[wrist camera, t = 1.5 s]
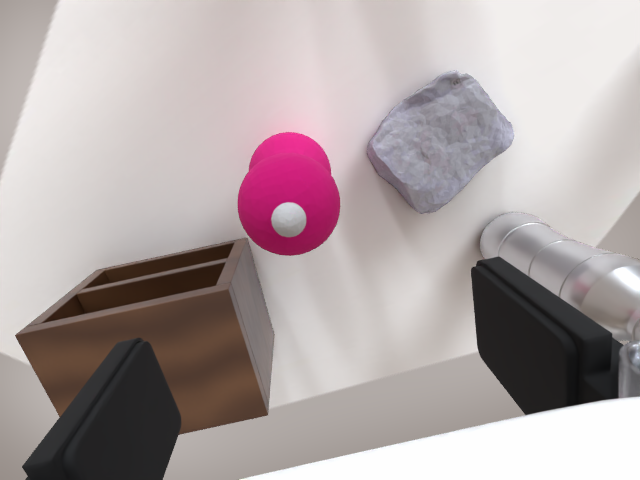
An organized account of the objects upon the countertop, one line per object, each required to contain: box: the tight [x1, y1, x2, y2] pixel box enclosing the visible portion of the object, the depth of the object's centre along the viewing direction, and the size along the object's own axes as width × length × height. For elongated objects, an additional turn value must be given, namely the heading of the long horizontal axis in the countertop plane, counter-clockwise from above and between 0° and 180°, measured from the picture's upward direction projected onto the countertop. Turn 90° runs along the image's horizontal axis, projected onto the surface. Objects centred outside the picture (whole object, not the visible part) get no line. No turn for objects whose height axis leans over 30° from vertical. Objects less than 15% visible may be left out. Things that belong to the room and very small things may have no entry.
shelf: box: [15, 238, 274, 435], centre depth 35 cm, size 12×16×12 cm
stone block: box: [367, 70, 514, 214], centre depth 36 cm, size 12×5×10 cm
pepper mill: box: [238, 132, 340, 256], centre depth 28 cm, size 7×7×20 cm
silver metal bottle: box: [480, 212, 640, 342], centre depth 32 cm, size 6×7×20 cm
